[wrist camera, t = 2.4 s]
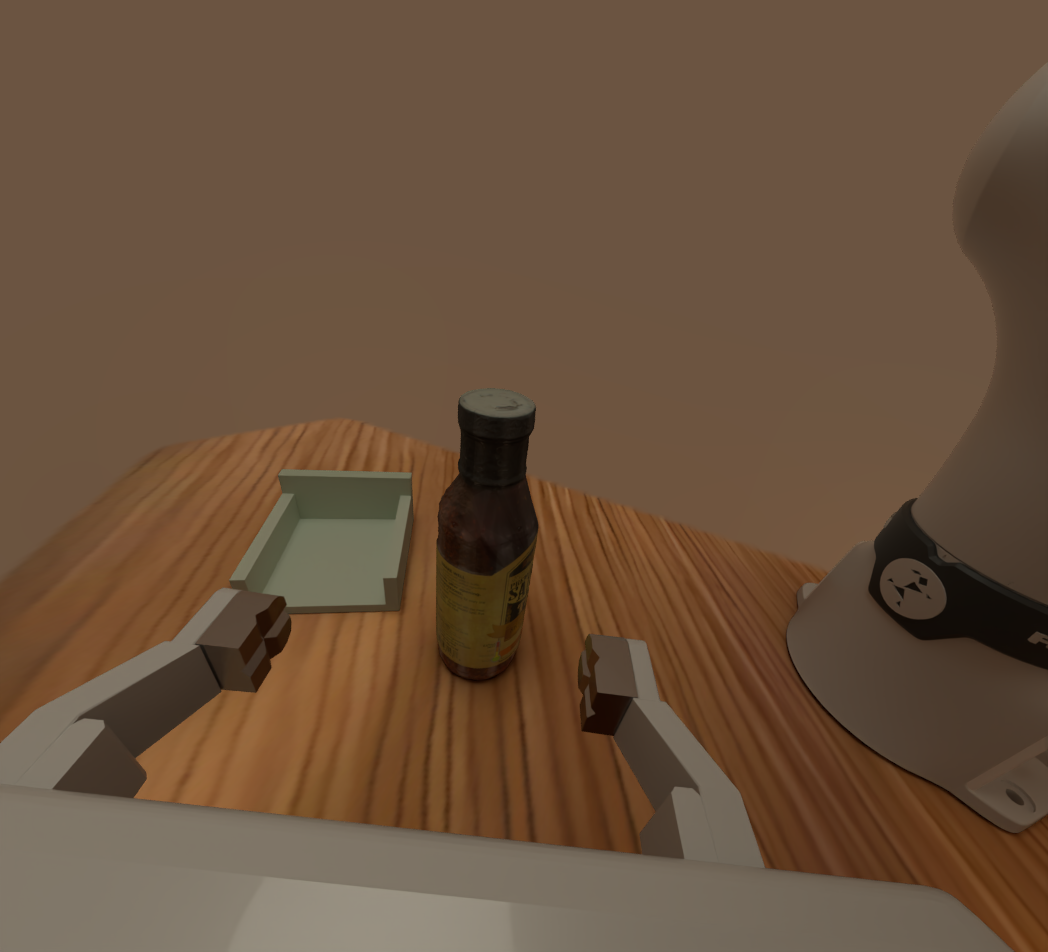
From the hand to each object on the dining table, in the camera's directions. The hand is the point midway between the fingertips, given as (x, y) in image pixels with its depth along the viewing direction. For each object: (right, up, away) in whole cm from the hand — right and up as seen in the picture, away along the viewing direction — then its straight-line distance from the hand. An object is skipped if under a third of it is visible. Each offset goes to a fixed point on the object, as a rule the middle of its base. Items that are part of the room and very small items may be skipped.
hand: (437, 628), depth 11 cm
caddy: (-14, -3, +26) cm, 30 cm away
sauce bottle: (-1, -9, +20) cm, 22 cm away
